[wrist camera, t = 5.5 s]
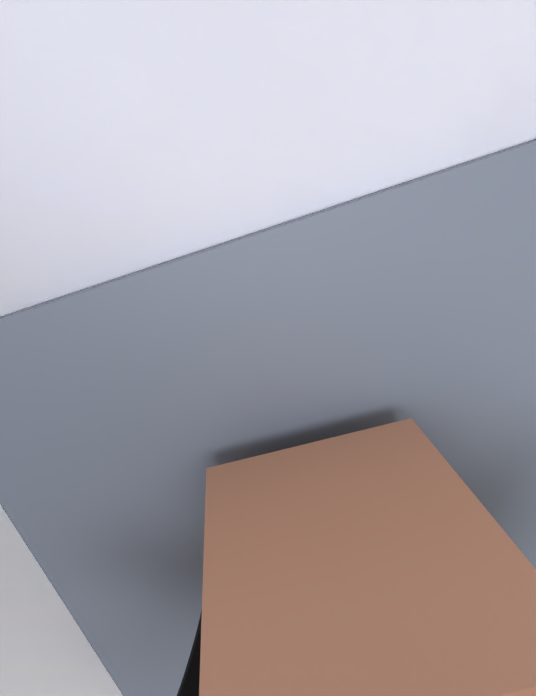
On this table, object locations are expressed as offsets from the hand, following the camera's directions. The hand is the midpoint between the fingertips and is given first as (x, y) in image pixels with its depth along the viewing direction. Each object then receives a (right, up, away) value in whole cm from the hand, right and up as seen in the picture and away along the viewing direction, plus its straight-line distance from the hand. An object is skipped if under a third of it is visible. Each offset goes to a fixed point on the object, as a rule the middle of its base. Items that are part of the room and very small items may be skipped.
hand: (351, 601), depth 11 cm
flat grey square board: (0, +1, +3) cm, 4 cm away
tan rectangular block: (0, +1, +2) cm, 2 cm away
